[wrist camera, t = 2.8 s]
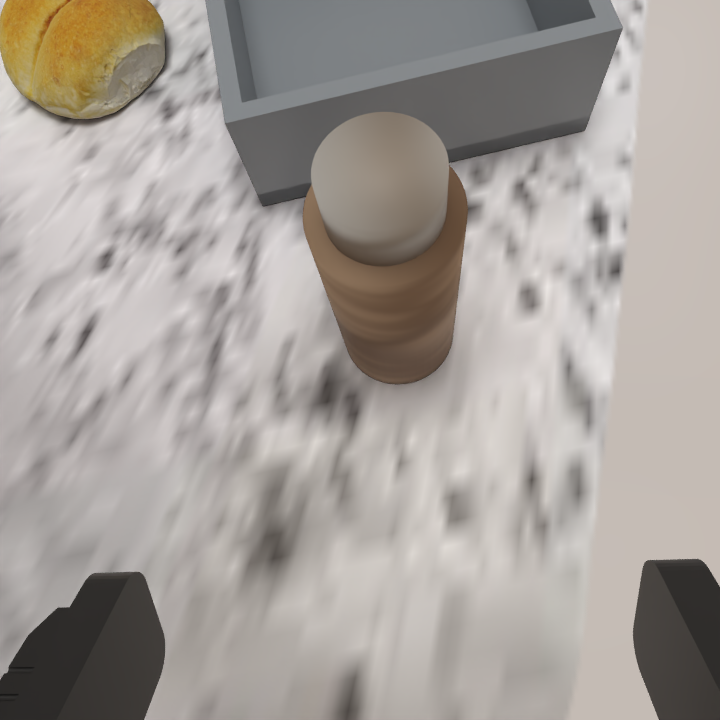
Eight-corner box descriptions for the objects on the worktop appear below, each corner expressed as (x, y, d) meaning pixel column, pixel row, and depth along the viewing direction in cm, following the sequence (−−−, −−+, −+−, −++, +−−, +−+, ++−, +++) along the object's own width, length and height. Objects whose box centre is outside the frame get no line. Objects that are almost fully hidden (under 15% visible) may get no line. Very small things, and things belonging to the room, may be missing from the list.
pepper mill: (356, 395, 27) (305, 270, 15) (335, 296, 28) (275, 116, 17) (465, 370, 26) (494, 226, 15) (438, 272, 28) (446, 75, 17)
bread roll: (91, -19, 36) (53, -86, 33) (196, 48, 34) (168, -16, 30) (-13, 73, 35) (-65, 13, 31) (89, 150, 32) (45, 96, 29)
